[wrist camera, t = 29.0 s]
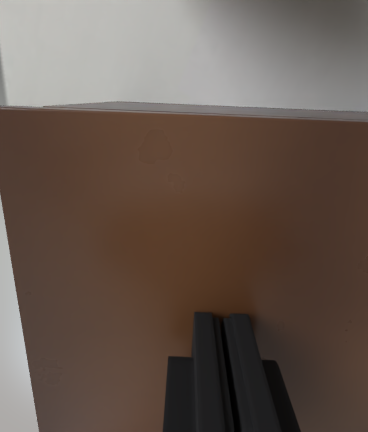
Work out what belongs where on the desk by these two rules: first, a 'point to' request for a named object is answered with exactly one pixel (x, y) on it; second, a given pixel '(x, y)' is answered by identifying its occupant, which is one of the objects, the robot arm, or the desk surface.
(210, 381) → the robot arm
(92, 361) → the lid
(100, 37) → the desk surface
